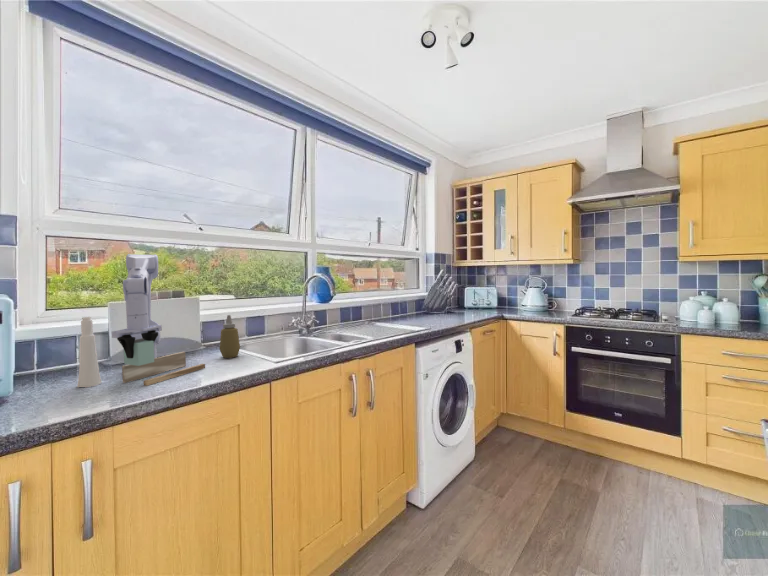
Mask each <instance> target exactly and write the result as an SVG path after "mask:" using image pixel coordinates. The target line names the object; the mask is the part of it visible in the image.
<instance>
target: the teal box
mask: <svg viewBox="0 0 768 576" xmlns="http://www.w3.org/2000/svg"><path fill="white" fill-rule="evenodd" d="M152 362H154V341H148V340H144V339H143V338H142V339H136V340H135V341H134V356H133V358H127V356H126V353H125V351H124V350H123V363H124V365H127V364H128V365H136V366H140V365H144V364H148V363H152Z"/></svg>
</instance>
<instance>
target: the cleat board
mask: <svg viewBox="0 0 768 576" xmlns="http://www.w3.org/2000/svg"><path fill="white" fill-rule="evenodd" d="M186 358H187V357H186V351H180V352H174V353H172V354H166V355H163V356H157V358H154V362H152V363H148V364H144V365H140V366H136V365H127V364H124V365H121V373H122V375H121V376H122V384H123V383H124V384H126V383H129V382H130V381H131V382H134V381H137V379H138V380H141V379H144V377H145V378H147V377H151V376H154V375H158V374H162V373H165V371H166V372H168V373H166V374H162V375H158V376H155V377H152V378H147V379H145V380H143V386H146V387H149V386H150V385H153V384H154V385H155V384H158V383H160V382H161V383H162V382H164V381H167V380H170V378H171V379H173V378H177V377H180V376H183V375H187V374H190V373H193V372H197V371H199V370H203V369H205V368H206V364H205V363H200V364H196V365H193V366H189V367H186V366H187V363H186V361H187V359H186ZM183 367H186V368H183ZM180 368H183V369H180ZM176 369H179V370H177V371H176ZM169 370H170V371H172V372H170V371H169ZM173 370H175V371H173ZM157 382H158V383H157Z"/></svg>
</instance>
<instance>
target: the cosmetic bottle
mask: <svg viewBox="0 0 768 576" xmlns="http://www.w3.org/2000/svg"><path fill="white" fill-rule="evenodd" d="M93 327H94V326H93V319H92V317H91V316H84V317H83V316H82V318H81V321H80V329H81V332H80V333H81V335H80V336H79V367H78V368H79V369H78V380H77V386H76V387H77V388H79V387H85V388H91V386H92V387H95V386H99V385H101V384H102V383H103V382H102V378H101V374H100V369H99V367H100V366H99V362H98V352H97V351H98V350H97V342H96V335H95V334H94V329H93Z"/></svg>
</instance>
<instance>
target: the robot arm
mask: <svg viewBox="0 0 768 576" xmlns="http://www.w3.org/2000/svg"><path fill="white" fill-rule="evenodd" d="M125 267H126V270H127V277H126V279H123V281H122V292H123V295H124V302H125V309H126V310H125V311H126V328H122V329H119V330H113V331H111V338H113V339H117V341H118V343H119V344H120V345H121V346H122V348H123V352H124V351H125V353H126V356H127V358H133V356H134V341H135V340H136V339H142V338H143V339H144V340H148V341H154V358H158V352H157V346H158V345H159V344H160V343H161V331H162V327H163V326H162V324H159V323H158V322H156V321H155V320H153V319H152V308H151V307H152V283H153V280H154V279H155V278H158V275H159V257H158V255H157V254H134V253H132V254H130V253H128V254H127V255H125ZM126 365H128V364H126Z"/></svg>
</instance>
